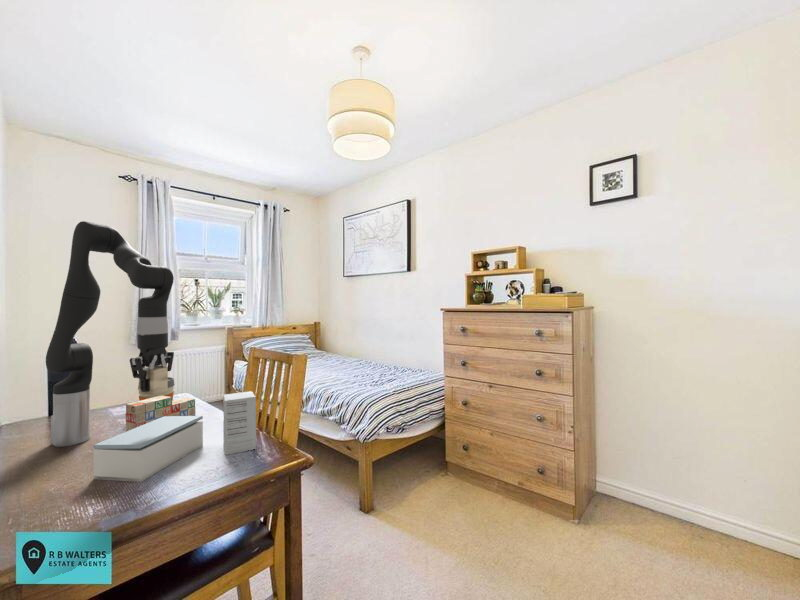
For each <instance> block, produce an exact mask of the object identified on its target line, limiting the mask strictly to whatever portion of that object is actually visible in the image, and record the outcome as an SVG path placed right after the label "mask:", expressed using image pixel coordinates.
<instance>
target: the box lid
mask: <svg viewBox="0 0 800 600" xmlns="http://www.w3.org/2000/svg"><path fill="white" fill-rule="evenodd" d="M202 420H203V415H195V416H164V417H161V418H159V419H156V420H154V421H151V422H149V423H146V424H144V425H142V426H139V427H137V428H134V429H132V430H129V431H127V432H126V431H124V432H122V433H119V434H117V435H115V436H112V437H109V438H107V439H105V440H102V441H100V442H98V443H95V444H93V450H94V449H141V448H143V447H145V446H147V445H149V444H151V443H153V442H155V441H157V440H159V439H161V438H164V437H166V436H168V435H170V434H172V433H174V432H176V431H178V430H180V429H182V428H184V427H187V426H189V425H191V424H193V423H195V422H197V421H202Z"/></svg>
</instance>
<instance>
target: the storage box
mask: <svg viewBox="0 0 800 600" xmlns="http://www.w3.org/2000/svg"><path fill="white" fill-rule="evenodd" d="M203 429H204V421H203V420H199V421H197V422H195V423H193V424H191V425H189V426H187V427H184V428H182V429H180V430H178V431H176V432H174V433H172V434H170V435H168V436H166V437H164V438H161V439H159V440H157V441H155V442H153V443H151V444H149V445H147V446H145V447H143V448H141V449H94V448H93V480H100V481H101V480H103V481H118V482H134V483H135V482H136V483H142V482H143V481H145V480H147V479H148V478H150V477H152V476H153V475H155V474H157V473H159V472H160V471H162V470H164V469H165V468H167V467H169V466H170V465H173V464H174V463H175V462H178V460H181V459H183V458H184V457H186V456H187V455H189V454H191V453H193V452H194V451H197V449H199V448H202V447H203V446H204V434H203V433H204V430H203Z"/></svg>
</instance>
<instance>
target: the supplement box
mask: <svg viewBox="0 0 800 600" xmlns="http://www.w3.org/2000/svg"><path fill="white" fill-rule="evenodd" d="M256 397H257V396H256V395H255V394H254V392H253V391H243V392H234V393H233V392H232V393H227V394H223V396H222V401H223V403H222V404H223V405H222V407H223V410H222V411H223V429H222V430H223V431H222V432H223V451H224V455H225V456H228V455H233V454H239V453H242V452H244V453H245V452H248V450H249V451H254V450H253V449H255V450H257V398H256Z"/></svg>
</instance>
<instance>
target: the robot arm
mask: <svg viewBox="0 0 800 600" xmlns="http://www.w3.org/2000/svg"><path fill="white" fill-rule="evenodd" d="M70 249H71V250H70V259H69V266H68V270H67V271H68V273H67V276H66V279H65V284H64V288H63V292H62V296H61V300H60V307H59V311H58V316H57V321H56V325H55V328H54V331H53V334H52V336H51V339H50V342H49V344H48V345H49V346H48V347H47V351H46V355H45V367H46V370H47V371H49V372H50V373H51V374H63V373H70V374H68V376H66V378H64V379H63V380H60V381H59V382H57V383H55V384H54V385H53V387H52V415H51V416H50V445H52V446H53V447H57V448H58V447H59V448H61V447H62V448H63V447H68V446H74V445H78V444H81V443H85V442H87V441H88V440H90V439H91V428H90V427H91V417H90V416H91V414H90V413H91V412H90V411H91V407H90V404H91V403H90V402H91V401H90V399H91V398H90V395H91V394H90V393H91V391H90V388H91V387H90V386H91V382H92V380H93V366H94V365H93V364H94V355H93V350H92V348H91V346H90V345H89V344H87V343H83V342H81V343H72V342H73V340H74V338H75V335H76V334H77V333H78V331H79V330H80V329H81V328H82V326H84V325H85V324H86V323H87V322H88V321H89V320H90V318H92V317H93V316H94V315H95V313H96V312H97V310H98V306H99V302H100V298H101V288H100V285H99V283H98V281H97V279H96V278H95V276H94V274H93V272H92V271H91V268H90V265H89V264H90V261H89V260H90V259H89V258H90V252H95V253H103V254H107V253H108V254H110V255H113V261H114V264H115V265H116V267H118V268H119V269H120V270H122V271H123V272H124V273H126V275H127V276H128V279H129V280H130V283H131V285H133V286H134V287H136V288H139V289H144V290H154V291H153V293H152V295H149V296H145V297H142V298H139V300H138V310H137V311H138V313H137V314H138V317H137V342H136V343H137V349H138V350H139V354H138V356H137V357H130V359H129V363H130V364H129V365H130V370H131V372H132V373H131V374H132V377H133V378H134V379H138V380H139V379H140V389H141V391H142V392H148V391H150V379H148V378H149V377H150V371H151V370H153V368H154V367H157V368H164V367H168V372H171V371H172V368H173V360H174V356H175V352H174V351H167V350H166V348H168V346H169V323H168V309H167V308H168V302H169V299H170V298H169V297H170V293H171V290H172V287H173V285H174V280H175V279H174V273H173V272H172V270H171V269H170V268H169V267H167V266H163V265H152V263H151V261H150V260H149V259H148V258H147V257H146V256H144V255H143V254H142V253H140V252H138V251H137V250H136V249H134V248H133V247H132V246H131V244H130V243H129V242H128V241H127V240H126V238H124V236H123V235H122V234H121V233H120V231H119V230H117V229H116V228H114V227H113V226H111V225H110V226H109V225H107V224H99V223H95V222H91V221H84V220H83V221H80V222H78V223H77V224H76V226H75V228H74V230H73V235H72V241H71V248H70ZM144 371H146V374H144Z"/></svg>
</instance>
